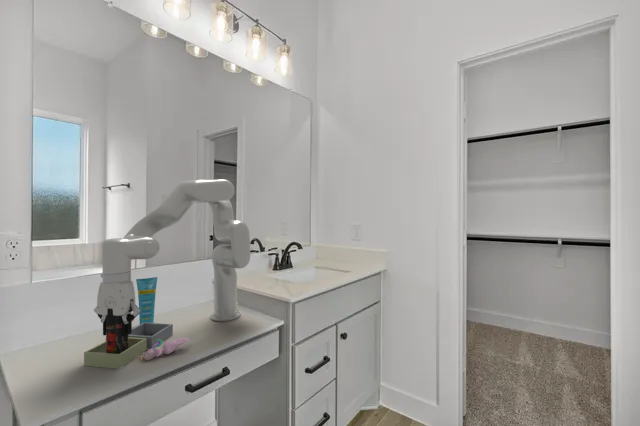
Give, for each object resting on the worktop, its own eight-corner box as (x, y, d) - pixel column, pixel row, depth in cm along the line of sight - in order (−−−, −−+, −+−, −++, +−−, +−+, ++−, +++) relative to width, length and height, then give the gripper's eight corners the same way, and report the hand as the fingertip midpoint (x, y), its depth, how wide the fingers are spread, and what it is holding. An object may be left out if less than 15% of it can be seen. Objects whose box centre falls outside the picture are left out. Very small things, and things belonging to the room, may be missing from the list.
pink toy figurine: (142, 369, 92) (193, 347, 102) (138, 351, 91) (190, 331, 101) (138, 361, 97) (187, 341, 106) (135, 344, 96) (184, 325, 106)
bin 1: (114, 348, 103) (114, 336, 103) (146, 350, 102) (146, 338, 102) (83, 365, 91) (83, 352, 91) (119, 368, 90) (119, 355, 90)
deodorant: (132, 351, 98) (131, 304, 97) (111, 359, 93) (111, 310, 92) (122, 346, 101) (122, 301, 100) (102, 354, 96) (102, 306, 95)
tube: (136, 328, 119) (136, 280, 119) (135, 324, 123) (135, 277, 123) (157, 325, 123) (157, 277, 123) (156, 321, 127) (156, 275, 127)
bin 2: (144, 332, 116) (144, 322, 116) (172, 334, 114) (172, 324, 114) (120, 346, 104) (120, 335, 104) (151, 349, 103) (151, 337, 103)
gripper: (82, 279, 94) (82, 337, 94) (133, 281, 91) (133, 341, 92) (102, 274, 101) (102, 328, 101) (150, 276, 99) (150, 331, 99)
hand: (117, 333), depth 97 cm, fingers closed on deodorant, 5 cm apart
